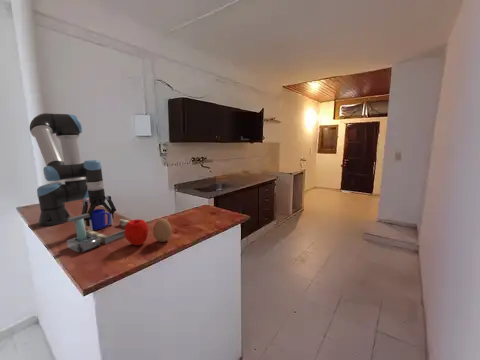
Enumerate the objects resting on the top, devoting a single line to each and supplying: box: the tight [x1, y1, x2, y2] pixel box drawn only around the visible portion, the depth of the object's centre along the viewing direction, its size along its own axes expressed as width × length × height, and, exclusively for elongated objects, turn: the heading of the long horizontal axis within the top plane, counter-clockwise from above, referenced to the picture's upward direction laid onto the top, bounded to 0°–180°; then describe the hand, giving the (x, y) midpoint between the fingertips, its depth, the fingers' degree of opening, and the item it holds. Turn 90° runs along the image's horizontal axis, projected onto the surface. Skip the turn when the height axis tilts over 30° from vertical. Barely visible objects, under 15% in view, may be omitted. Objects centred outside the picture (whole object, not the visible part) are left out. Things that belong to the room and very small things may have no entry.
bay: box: [86, 218, 130, 245], centre depth 121 cm, size 18×20×3 cm
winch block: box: [66, 233, 102, 253], centre depth 106 cm, size 13×9×4 cm
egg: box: [152, 217, 173, 243], centre depth 109 cm, size 8×8×11 cm
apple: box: [124, 218, 149, 246], centre depth 106 cm, size 10×10×12 cm
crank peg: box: [67, 214, 90, 242], centre depth 106 cm, size 3×8×13 cm, turn 150°
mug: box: [90, 208, 110, 231], centre depth 127 cm, size 8×12×10 cm
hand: (101, 227), depth 128 cm, fingers open, 10 cm apart
